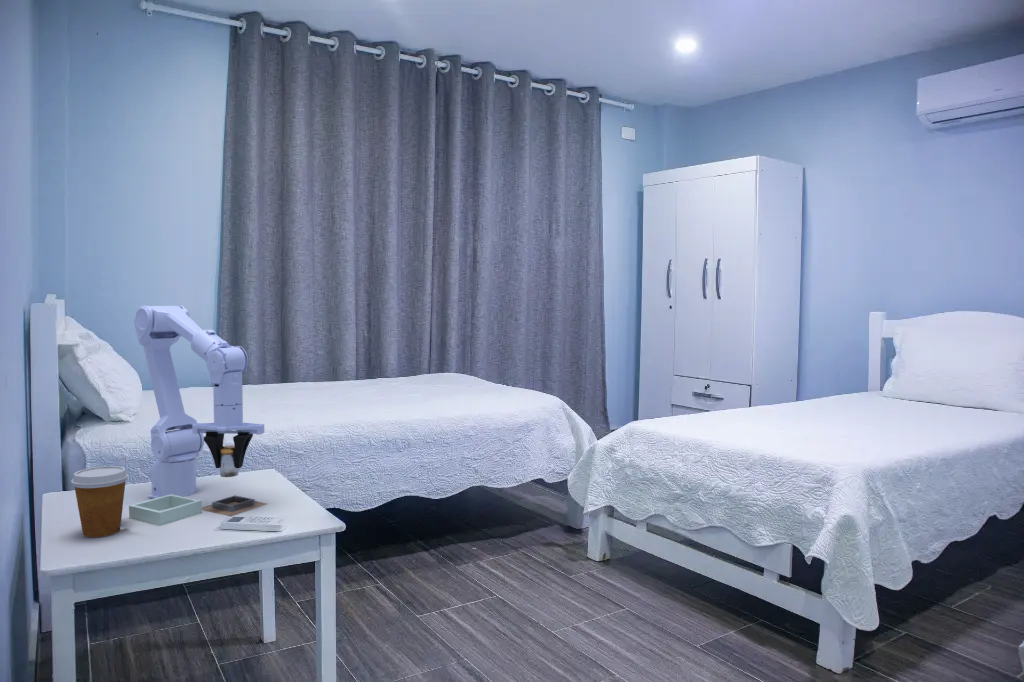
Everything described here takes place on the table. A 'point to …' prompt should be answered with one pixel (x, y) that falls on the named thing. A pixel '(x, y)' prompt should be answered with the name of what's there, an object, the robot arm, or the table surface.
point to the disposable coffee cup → (100, 499)
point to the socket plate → (233, 505)
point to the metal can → (228, 461)
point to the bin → (178, 510)
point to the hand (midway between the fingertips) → (229, 467)
